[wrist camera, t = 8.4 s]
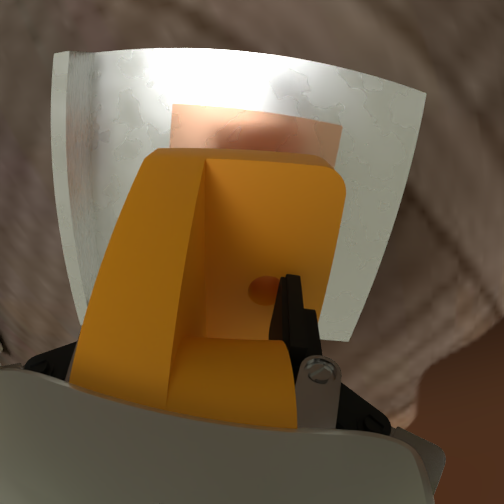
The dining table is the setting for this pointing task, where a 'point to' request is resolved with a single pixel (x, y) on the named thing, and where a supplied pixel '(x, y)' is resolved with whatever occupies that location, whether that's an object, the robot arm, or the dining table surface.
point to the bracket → (209, 282)
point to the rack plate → (229, 145)
